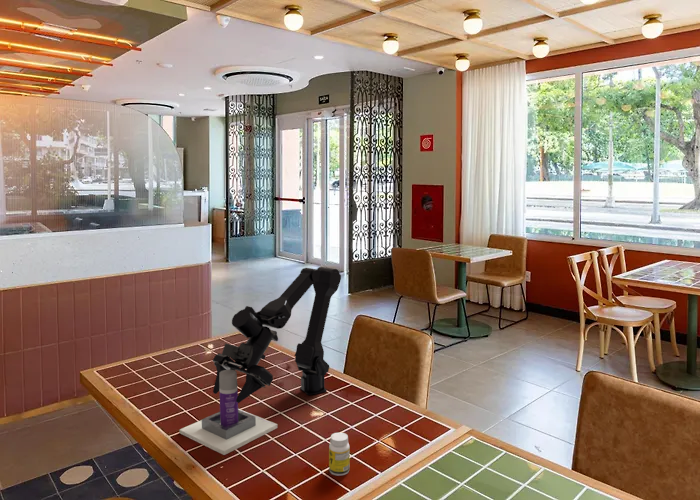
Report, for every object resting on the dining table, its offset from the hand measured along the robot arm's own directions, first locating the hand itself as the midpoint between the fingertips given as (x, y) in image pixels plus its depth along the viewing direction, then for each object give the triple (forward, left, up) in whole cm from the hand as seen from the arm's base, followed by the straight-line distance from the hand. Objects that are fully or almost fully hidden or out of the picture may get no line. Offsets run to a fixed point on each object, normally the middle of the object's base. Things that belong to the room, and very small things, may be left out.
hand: (225, 397), depth 140 cm
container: (-1, 0, -9) cm, 9 cm away
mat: (-1, 0, -9) cm, 10 cm away
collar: (-1, 0, -9) cm, 10 cm away
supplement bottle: (-18, +31, -10) cm, 37 cm away
